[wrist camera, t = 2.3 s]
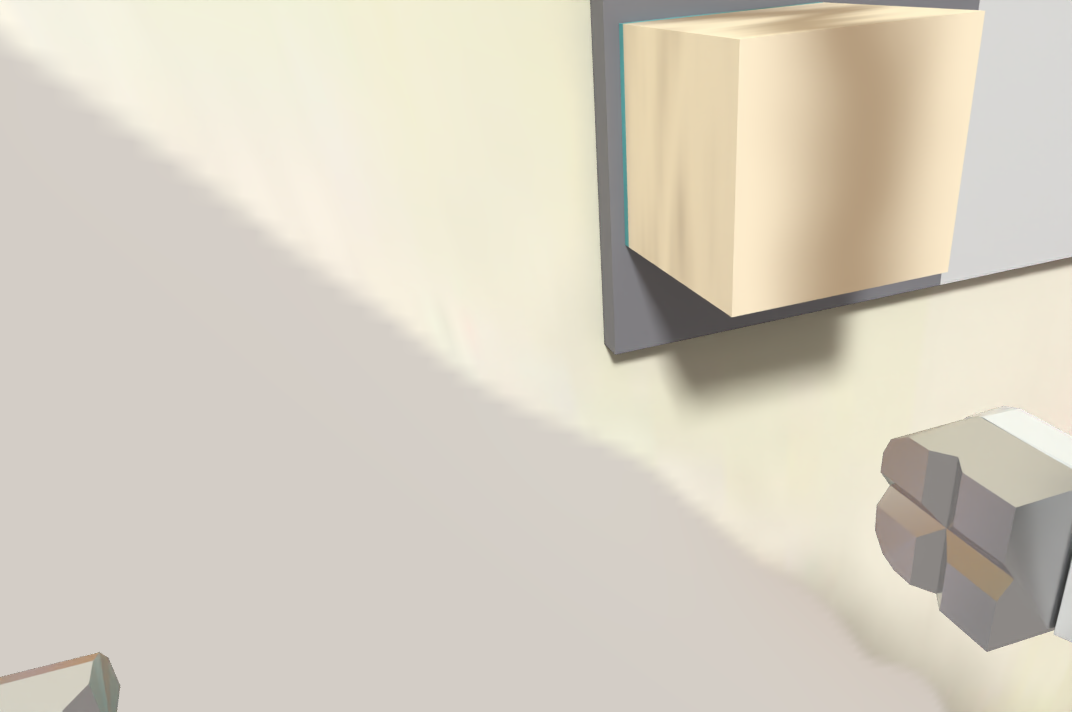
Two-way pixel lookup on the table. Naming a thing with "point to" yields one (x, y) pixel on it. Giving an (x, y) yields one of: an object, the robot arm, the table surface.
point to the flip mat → (986, 184)
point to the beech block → (796, 147)
